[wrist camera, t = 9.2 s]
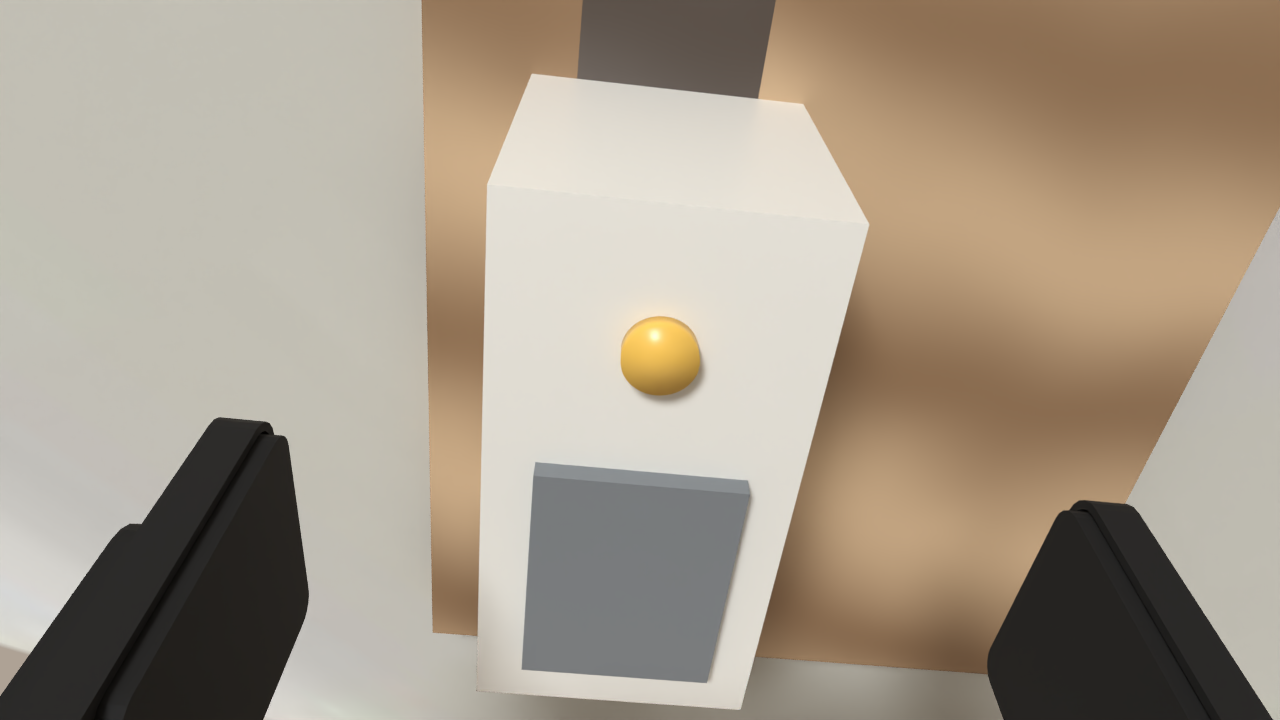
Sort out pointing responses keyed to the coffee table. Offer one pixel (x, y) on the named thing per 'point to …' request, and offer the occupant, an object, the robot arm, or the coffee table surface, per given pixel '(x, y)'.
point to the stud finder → (650, 383)
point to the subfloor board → (912, 268)
